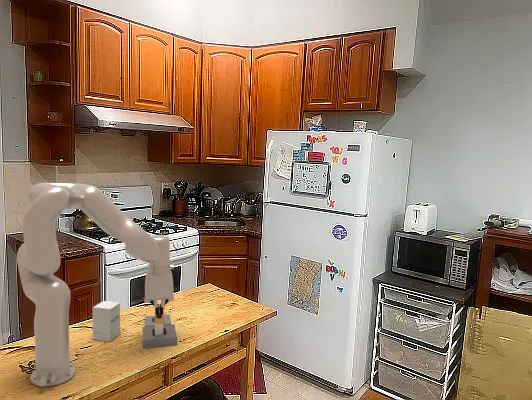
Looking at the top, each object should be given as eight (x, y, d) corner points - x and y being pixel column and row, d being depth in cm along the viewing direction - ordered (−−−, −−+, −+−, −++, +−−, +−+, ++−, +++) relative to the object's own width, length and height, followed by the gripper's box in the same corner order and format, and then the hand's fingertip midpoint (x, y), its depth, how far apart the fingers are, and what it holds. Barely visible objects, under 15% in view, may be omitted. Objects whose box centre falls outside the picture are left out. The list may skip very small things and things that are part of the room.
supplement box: (110, 341, 160) (109, 309, 159) (92, 339, 162) (91, 307, 160) (121, 333, 167) (120, 302, 166) (103, 331, 169) (103, 300, 167)
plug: (163, 341, 162) (163, 318, 160) (154, 342, 161) (154, 319, 160) (162, 336, 165) (162, 314, 164) (154, 337, 165) (154, 314, 163)
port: (176, 345, 159) (176, 337, 159) (142, 348, 156) (142, 340, 155) (174, 331, 170) (174, 324, 170) (142, 334, 167) (142, 326, 167)
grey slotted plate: (171, 328, 173) (171, 323, 173) (145, 330, 170) (145, 326, 170) (169, 318, 183) (169, 314, 182) (144, 320, 180) (144, 316, 179)
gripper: (179, 265, 165) (178, 311, 168) (138, 267, 161) (138, 314, 163) (180, 270, 158) (180, 319, 160) (138, 272, 154) (138, 322, 156)
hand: (159, 316), depth 162 cm, fingers closed
